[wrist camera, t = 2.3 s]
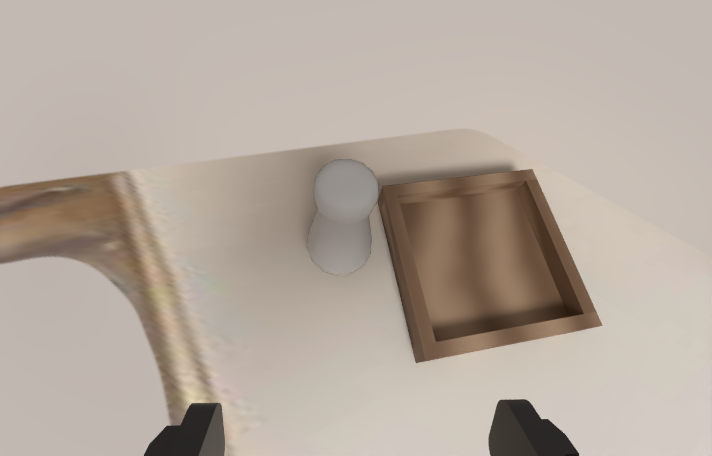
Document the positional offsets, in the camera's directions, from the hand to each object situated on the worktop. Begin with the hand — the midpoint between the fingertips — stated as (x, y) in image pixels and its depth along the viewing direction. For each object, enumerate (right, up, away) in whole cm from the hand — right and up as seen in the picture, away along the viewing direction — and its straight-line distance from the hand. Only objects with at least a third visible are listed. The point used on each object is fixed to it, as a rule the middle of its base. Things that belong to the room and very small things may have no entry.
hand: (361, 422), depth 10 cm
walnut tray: (+11, +2, +25) cm, 27 cm away
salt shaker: (-2, +3, +24) cm, 24 cm away
